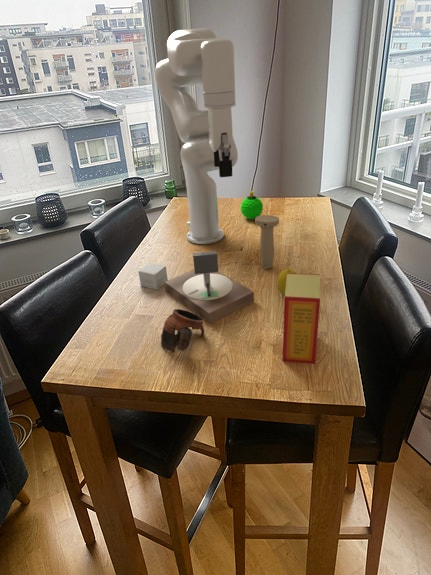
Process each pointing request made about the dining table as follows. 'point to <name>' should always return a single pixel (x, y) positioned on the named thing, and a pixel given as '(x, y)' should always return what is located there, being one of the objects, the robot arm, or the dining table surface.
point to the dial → (199, 290)
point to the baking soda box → (301, 317)
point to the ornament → (251, 206)
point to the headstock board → (210, 308)
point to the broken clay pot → (180, 329)
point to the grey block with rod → (206, 266)
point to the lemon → (283, 280)
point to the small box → (153, 276)
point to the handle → (267, 239)
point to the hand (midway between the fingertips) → (223, 171)
